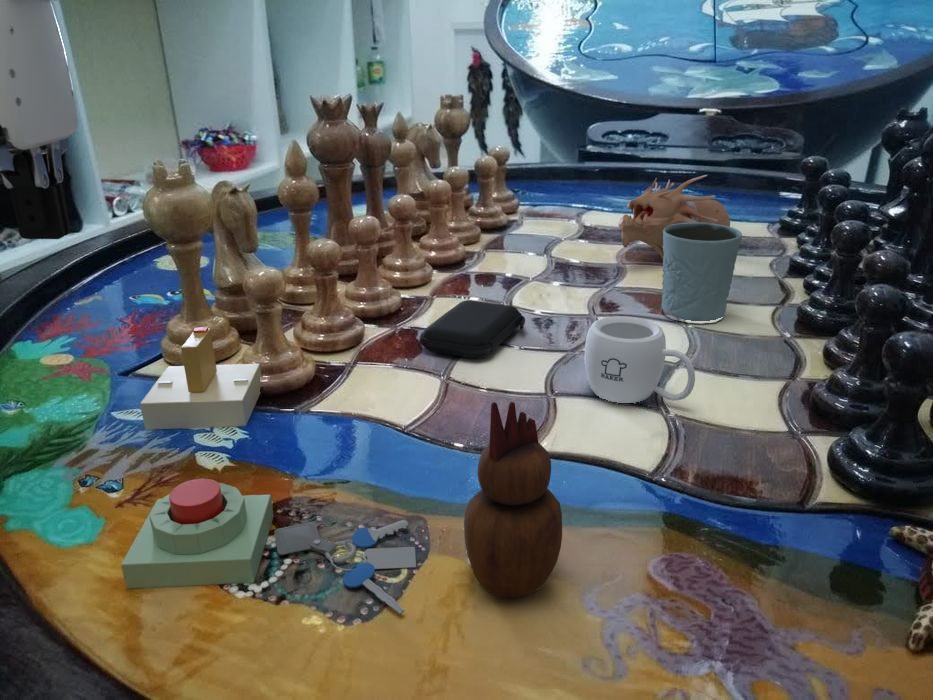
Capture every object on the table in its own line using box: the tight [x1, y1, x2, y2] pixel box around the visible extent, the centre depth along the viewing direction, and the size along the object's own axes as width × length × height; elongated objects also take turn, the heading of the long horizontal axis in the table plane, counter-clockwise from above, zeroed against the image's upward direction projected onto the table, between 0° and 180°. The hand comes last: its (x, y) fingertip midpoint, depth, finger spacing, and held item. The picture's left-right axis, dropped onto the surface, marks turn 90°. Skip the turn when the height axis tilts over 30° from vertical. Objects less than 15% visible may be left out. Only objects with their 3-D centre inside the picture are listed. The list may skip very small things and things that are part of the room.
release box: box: [120, 482, 275, 590], centre depth 55 cm, size 9×8×4 cm
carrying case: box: [419, 299, 526, 360], centre depth 94 cm, size 11×3×15 cm
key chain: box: [273, 519, 417, 615], centre depth 56 cm, size 14×8×1 cm, turn 56°
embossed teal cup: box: [661, 222, 743, 321], centre depth 101 cm, size 10×10×12 cm
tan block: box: [180, 326, 217, 392], centre depth 76 cm, size 5×2×5 cm, turn 3°
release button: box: [169, 478, 223, 524], centre depth 54 cm, size 4×4×2 cm
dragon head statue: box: [618, 174, 731, 260], centre depth 125 cm, size 13×15×25 cm
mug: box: [584, 315, 696, 404], centre depth 78 cm, size 12×8×8 cm
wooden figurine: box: [463, 401, 563, 598], centre depth 50 cm, size 7×6×15 cm
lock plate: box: [139, 363, 262, 431], centre depth 77 cm, size 10×9×3 cm
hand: (46, 235), depth 58 cm, fingers closed
